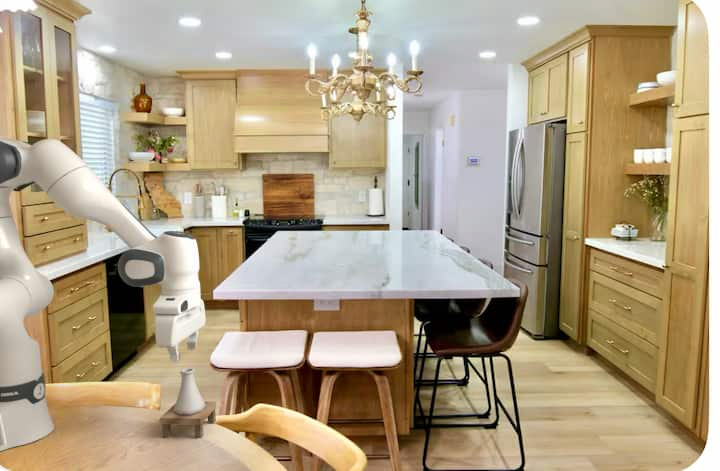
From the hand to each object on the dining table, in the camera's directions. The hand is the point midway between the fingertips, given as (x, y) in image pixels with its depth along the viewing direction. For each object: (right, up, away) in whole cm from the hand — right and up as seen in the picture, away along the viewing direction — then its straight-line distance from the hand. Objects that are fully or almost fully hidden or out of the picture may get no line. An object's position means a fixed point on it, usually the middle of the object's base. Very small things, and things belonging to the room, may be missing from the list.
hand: (184, 354), depth 133 cm
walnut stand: (+1, -19, +2) cm, 19 cm away
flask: (+1, -14, +1) cm, 14 cm away
